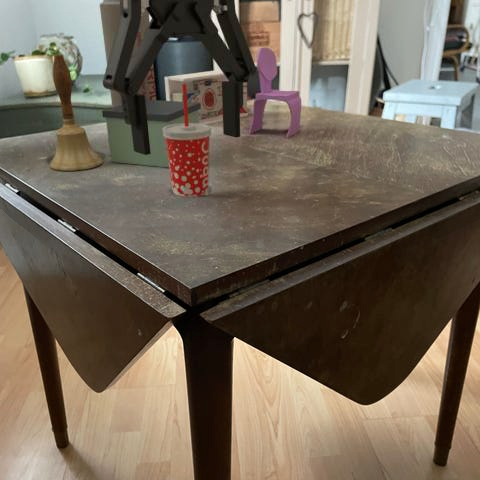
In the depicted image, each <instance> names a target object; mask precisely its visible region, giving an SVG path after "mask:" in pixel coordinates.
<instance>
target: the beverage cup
mask: <svg viewBox="0 0 480 480" xmlns="http://www.w3.org/2000/svg"><path fill="white" fill-rule="evenodd" d="M182 87H183V103H184V120H185V123H183V124H174V125H168V126H166V127H164V128H163V129H162V131H163V136H164V137H165V140H166V147H167V154H168V161H169V176H170V182H171V191H172V193H173V194H174V195H176V196H181V197H197V196H209V183H210V182H209V180H210V179H209V177H210V175H209V174H210V136H211V135H212V126H210V124H206V125H205V124H197V123H188V105H187V88H186V84H182Z"/></svg>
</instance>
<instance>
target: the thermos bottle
mask: <svg viewBox="0 0 480 480" xmlns="http://www.w3.org/2000/svg"><path fill="white" fill-rule="evenodd" d="M99 10H100V20H101V28H102V36H103V43H104V51H105V60H106V65H107V64H108V60H109V56H110V53H111V49H112V45H113V42H114V38H115V34H116V31H117V27H118V23H119V20H120V0H102V2H101V3H99ZM150 21H151V19H150V15H149V13H148V12H147V10H146V9H145V13H144V15H143V16H142V17H141V22H140V27H139V30H138V34H137V37H136V41H135V44H134V48H133V52H132V55H131V59H130V62H131V61H132V59H133V57H134V55H135V53H136V51H137V49H138V48H139V46H140V44H141V42H142V40H143V38H144V36H145V35H144V32H145V30H146V28H147V27H148V25H149V23H150ZM130 62H129V64H130ZM155 82H156V81H155V70H154V64H153V65H152V67H151V68H150V70H149V72H148V74H147V76H146V78H145V80H144V81H143V83H142V85H141V87H140V89H139V91H138V92H137V94H141V95H145V100H157V94H156V92H157V91H156V83H155ZM109 92H110V99H111V101H110V102H111V108H113V107H116V106H120V105H122V100H121V96H120V94H119V93H118V92H116V91H113V90H110V89H109Z"/></svg>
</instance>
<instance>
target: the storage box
mask: <svg viewBox="0 0 480 480" xmlns="http://www.w3.org/2000/svg"><path fill="white" fill-rule="evenodd" d="M145 103H146V112H147V122H148V132H149V142H150V151H151V154H149V155H143V154H141V153H138V152H135V151H134V147H133V139H132V130H131V125H128V124H126V123H125V121H124V116H123V108H122V105H120V106H116V107H113V108H112V107H110V108H106V109H103V110H102V111H101V112H102V118H105V122H106V123H105V124H106V130H107V137H108V144H109V145H108V146H109V152H110V153H109V154H110V159H111V163H118V164H128V165H129V164H130V165H137V166H138V165H139V166H149V167H158V168H159V167H160V168H169V161H168V154H167V147H166V140H165V137H164V136H163V131H162V129H163V128H164V127H166V126H168V125H174V124H183V123H185V120H184V103H183V102H179V101H166V100H159V99H158V100H157V99H156V100H145ZM187 105H188V123H197V124H199V112H198V110H199V109H201V103H198V102H187ZM169 169H170V168H169Z"/></svg>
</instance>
